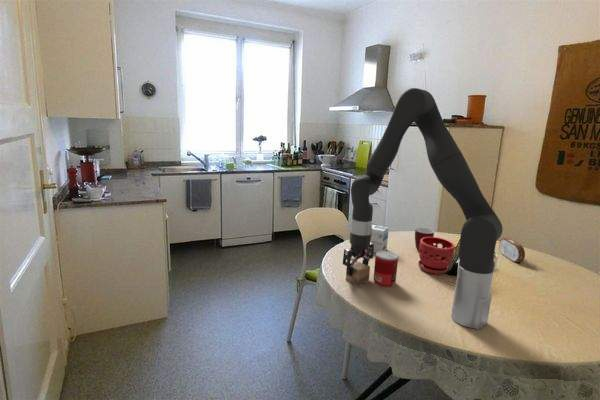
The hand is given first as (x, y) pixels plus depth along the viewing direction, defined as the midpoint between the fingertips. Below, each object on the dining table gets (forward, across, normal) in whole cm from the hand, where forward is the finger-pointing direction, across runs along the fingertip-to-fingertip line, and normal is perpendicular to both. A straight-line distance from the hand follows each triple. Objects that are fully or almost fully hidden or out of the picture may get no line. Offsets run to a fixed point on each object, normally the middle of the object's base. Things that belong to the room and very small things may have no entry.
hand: (357, 272), depth 132 cm
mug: (+3, +48, +3) cm, 48 cm away
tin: (+3, +73, -26) cm, 78 cm away
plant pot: (+3, +33, -12) cm, 35 cm away
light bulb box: (+4, +31, +17) cm, 35 cm away
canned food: (+3, +7, -7) cm, 11 cm away
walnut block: (+3, 0, 0) cm, 3 cm away
